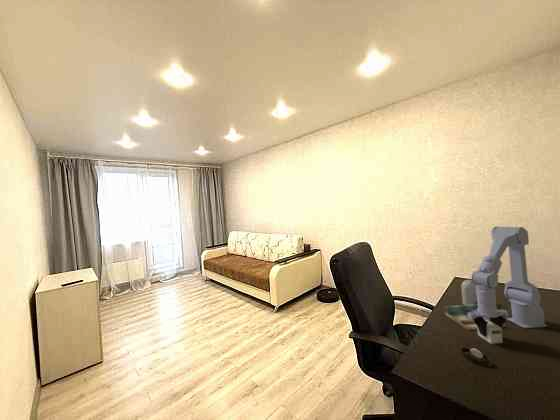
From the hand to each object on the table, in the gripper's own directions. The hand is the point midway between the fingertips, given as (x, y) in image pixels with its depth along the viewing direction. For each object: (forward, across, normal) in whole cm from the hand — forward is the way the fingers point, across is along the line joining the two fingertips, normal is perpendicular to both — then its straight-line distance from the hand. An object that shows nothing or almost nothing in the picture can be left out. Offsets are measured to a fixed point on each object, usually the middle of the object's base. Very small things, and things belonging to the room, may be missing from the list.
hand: (489, 334), depth 90 cm
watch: (+2, +15, +11) cm, 19 cm away
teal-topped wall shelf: (+2, -5, -14) cm, 15 cm away
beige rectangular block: (+2, 0, 0) cm, 2 cm away
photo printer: (+2, -17, -31) cm, 35 cm away
